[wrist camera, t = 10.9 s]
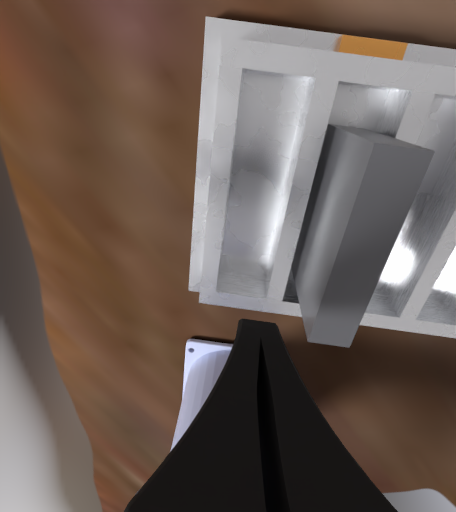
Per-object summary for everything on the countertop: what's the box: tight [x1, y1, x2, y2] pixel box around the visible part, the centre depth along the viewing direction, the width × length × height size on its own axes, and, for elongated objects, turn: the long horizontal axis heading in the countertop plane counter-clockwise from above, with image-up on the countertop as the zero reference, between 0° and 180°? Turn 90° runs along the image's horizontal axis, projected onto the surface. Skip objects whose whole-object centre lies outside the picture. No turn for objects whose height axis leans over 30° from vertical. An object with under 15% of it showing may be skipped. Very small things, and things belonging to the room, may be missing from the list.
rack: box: [189, 17, 456, 338], centre depth 17 cm, size 16×20×4 cm
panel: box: [291, 124, 435, 348], centre depth 15 cm, size 9×2×7 cm, turn 173°
